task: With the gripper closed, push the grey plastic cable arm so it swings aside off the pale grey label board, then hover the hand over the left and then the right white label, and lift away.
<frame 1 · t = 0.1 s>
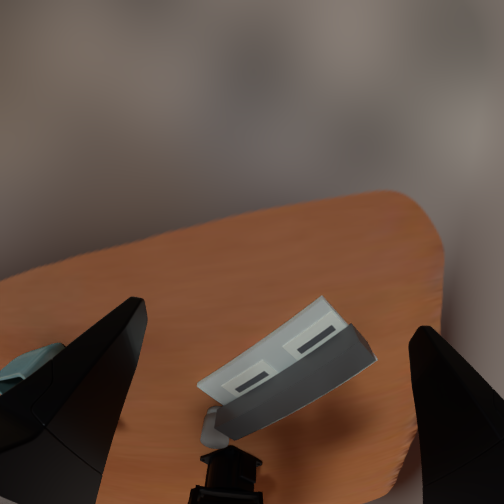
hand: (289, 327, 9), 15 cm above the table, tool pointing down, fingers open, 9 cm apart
cable arm: (276, 399, 26), point 3 cm above the table, hinge at 0.0°
label board: (286, 373, 29), on the table
flower pot: (63, 360, 30), on the table
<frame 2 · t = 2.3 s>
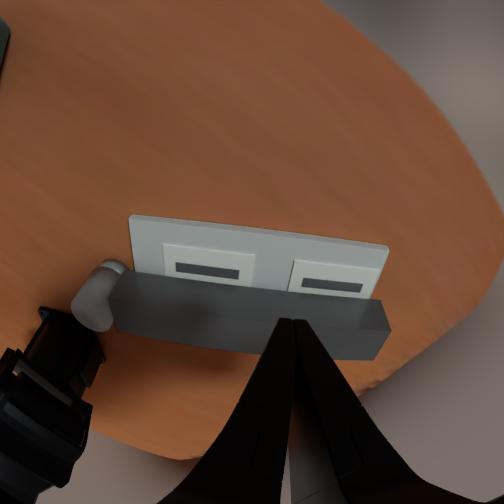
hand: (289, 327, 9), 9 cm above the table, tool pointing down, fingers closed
cable arm: (225, 319, 18), point 3 cm above the table, hinge at 0.0°
label board: (252, 292, 20), on the table
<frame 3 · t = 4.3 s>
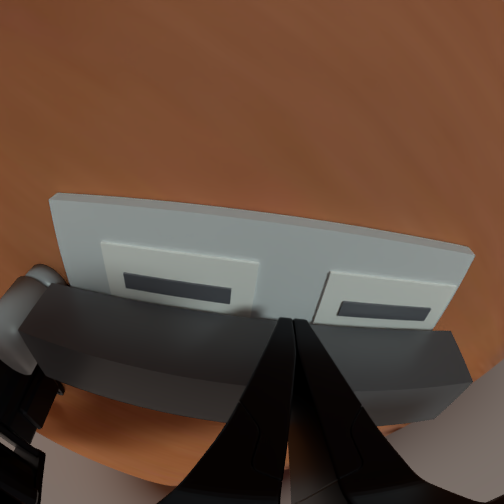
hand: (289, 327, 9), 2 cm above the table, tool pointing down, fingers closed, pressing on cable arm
cable arm: (206, 373, 10), point 3 cm above the table, hinge at 0.0°, touching gripper
label board: (253, 322, 12), on the table
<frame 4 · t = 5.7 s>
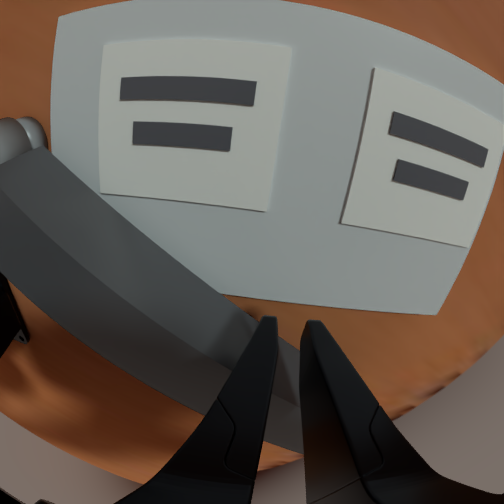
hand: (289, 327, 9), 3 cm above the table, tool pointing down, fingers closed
cable arm: (157, 328, 9), point 3 cm above the table, hinge at -36.5°, touching gripper
label board: (280, 160, 9), on the table
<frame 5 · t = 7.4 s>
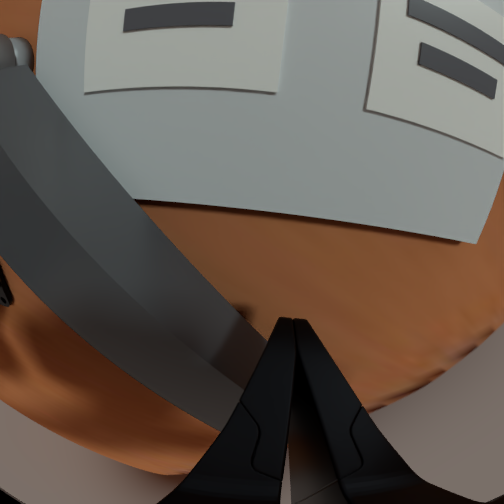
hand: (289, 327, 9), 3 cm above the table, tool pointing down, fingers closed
cable arm: (104, 277, 8), point 3 cm above the table, hinge at -49.4°
label board: (289, 43, 7), on the table
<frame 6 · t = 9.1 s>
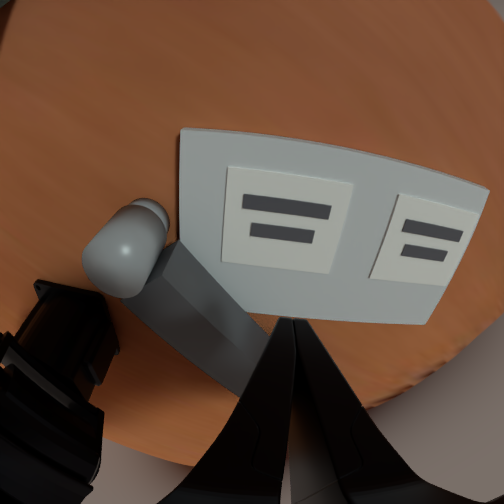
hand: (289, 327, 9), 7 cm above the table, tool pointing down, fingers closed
cable arm: (236, 355, 16), point 3 cm above the table, hinge at -49.4°
label board: (337, 243, 15), on the table
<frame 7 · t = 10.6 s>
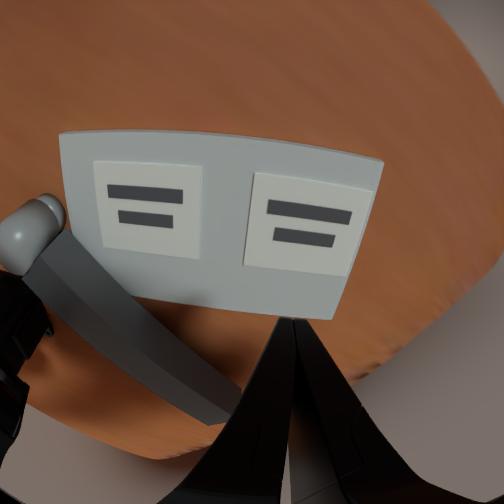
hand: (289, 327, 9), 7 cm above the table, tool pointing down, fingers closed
cable arm: (124, 336, 17), point 3 cm above the table, hinge at -49.4°
label board: (204, 228, 15), on the table
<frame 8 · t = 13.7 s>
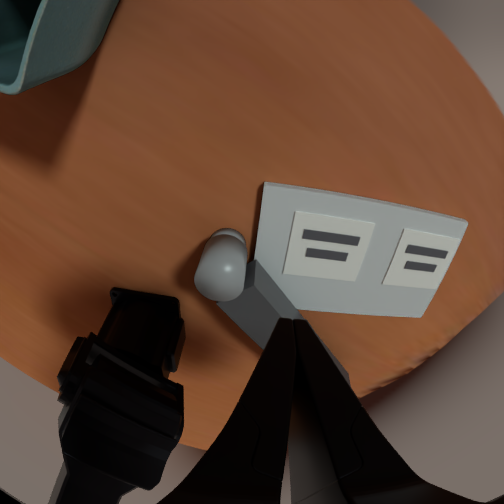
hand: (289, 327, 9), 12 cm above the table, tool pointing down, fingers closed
cable arm: (289, 340, 23), point 3 cm above the table, hinge at -49.4°
label board: (361, 260, 22), on the table
flower pot: (88, 9, 12), on the table
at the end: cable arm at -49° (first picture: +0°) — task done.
